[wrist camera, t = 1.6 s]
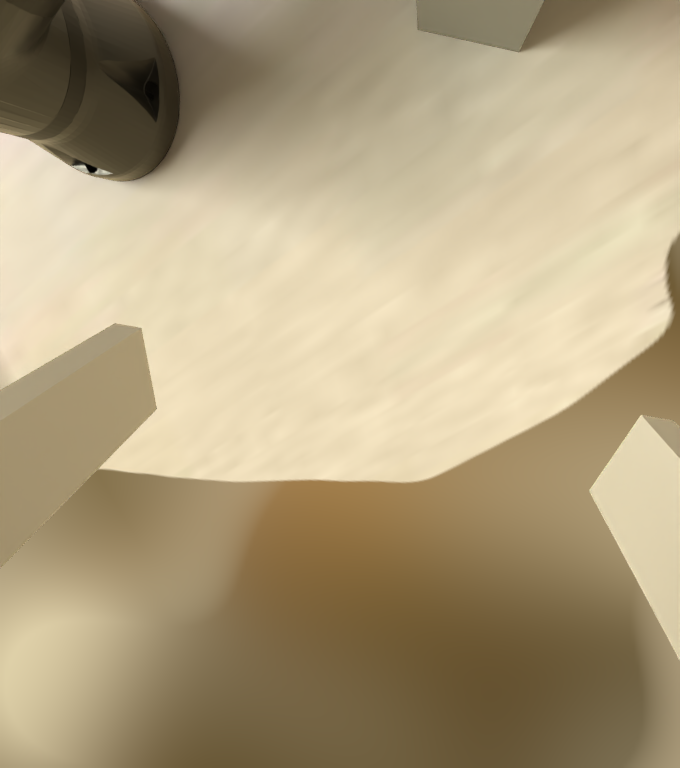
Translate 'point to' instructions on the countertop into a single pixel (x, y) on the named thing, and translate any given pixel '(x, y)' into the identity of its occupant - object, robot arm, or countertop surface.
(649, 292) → the countertop surface
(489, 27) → the slate block
